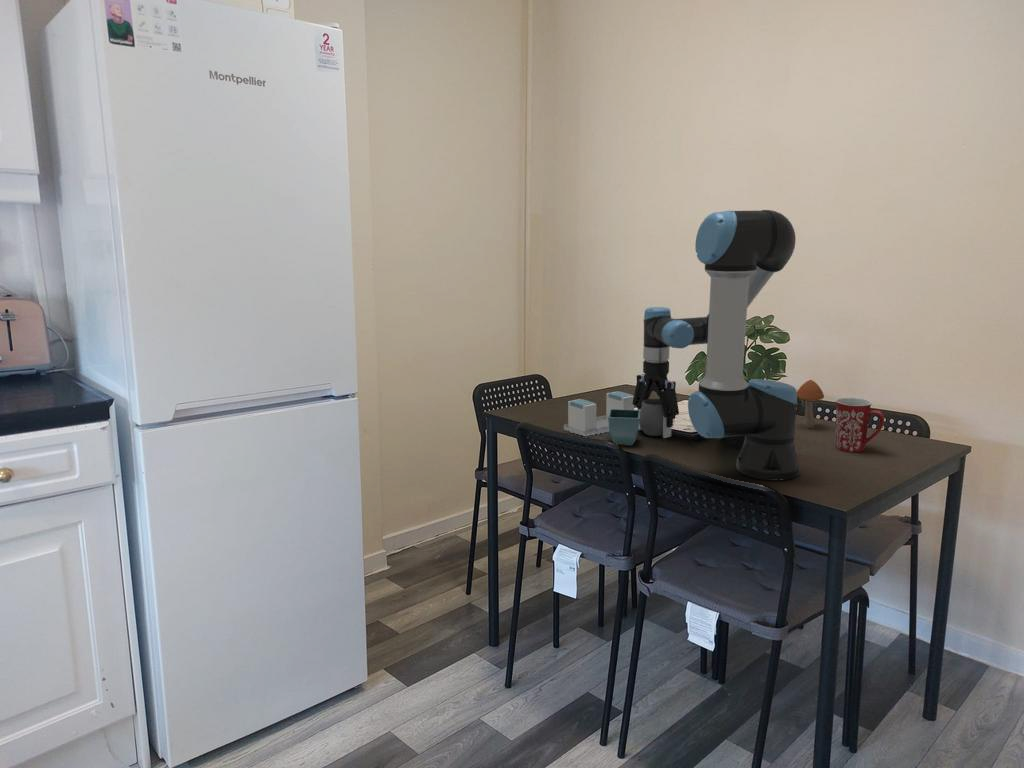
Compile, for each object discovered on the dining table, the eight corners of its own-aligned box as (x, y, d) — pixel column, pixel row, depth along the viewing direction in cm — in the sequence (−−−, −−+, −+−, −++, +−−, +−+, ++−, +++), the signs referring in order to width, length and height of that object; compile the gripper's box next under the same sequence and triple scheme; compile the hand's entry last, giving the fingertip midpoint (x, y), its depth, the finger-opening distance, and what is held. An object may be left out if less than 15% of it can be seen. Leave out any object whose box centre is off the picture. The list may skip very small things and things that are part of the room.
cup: (657, 440, 207) (658, 407, 205) (632, 434, 214) (632, 401, 211) (676, 433, 213) (677, 401, 211) (651, 427, 220) (652, 396, 218)
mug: (825, 448, 197) (829, 401, 194) (840, 441, 202) (844, 395, 199) (872, 459, 187) (877, 409, 184) (886, 451, 193) (891, 403, 190)
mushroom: (794, 430, 213) (797, 381, 210) (792, 422, 221) (795, 376, 217) (823, 432, 211) (827, 383, 208) (820, 424, 218) (823, 377, 215)
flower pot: (639, 448, 200) (639, 418, 198) (607, 447, 202) (607, 417, 200) (639, 439, 209) (640, 409, 207) (609, 438, 211) (610, 408, 208)
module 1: (596, 429, 215) (596, 403, 213) (584, 432, 212) (584, 406, 210) (579, 423, 221) (579, 398, 219) (568, 426, 219) (568, 400, 217)
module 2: (634, 420, 223) (634, 395, 221) (623, 423, 221) (623, 397, 219) (616, 415, 230) (617, 390, 228) (606, 417, 227) (606, 392, 225)
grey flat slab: (638, 424, 223) (638, 419, 223) (584, 437, 211) (584, 432, 211) (617, 417, 231) (617, 412, 231) (563, 429, 219) (563, 424, 219)
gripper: (693, 364, 201) (691, 439, 206) (639, 353, 219) (637, 422, 224) (675, 367, 197) (672, 444, 202) (620, 356, 215) (620, 426, 220)
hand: (654, 432), depth 213 cm, fingers closed on cup, 9 cm apart
